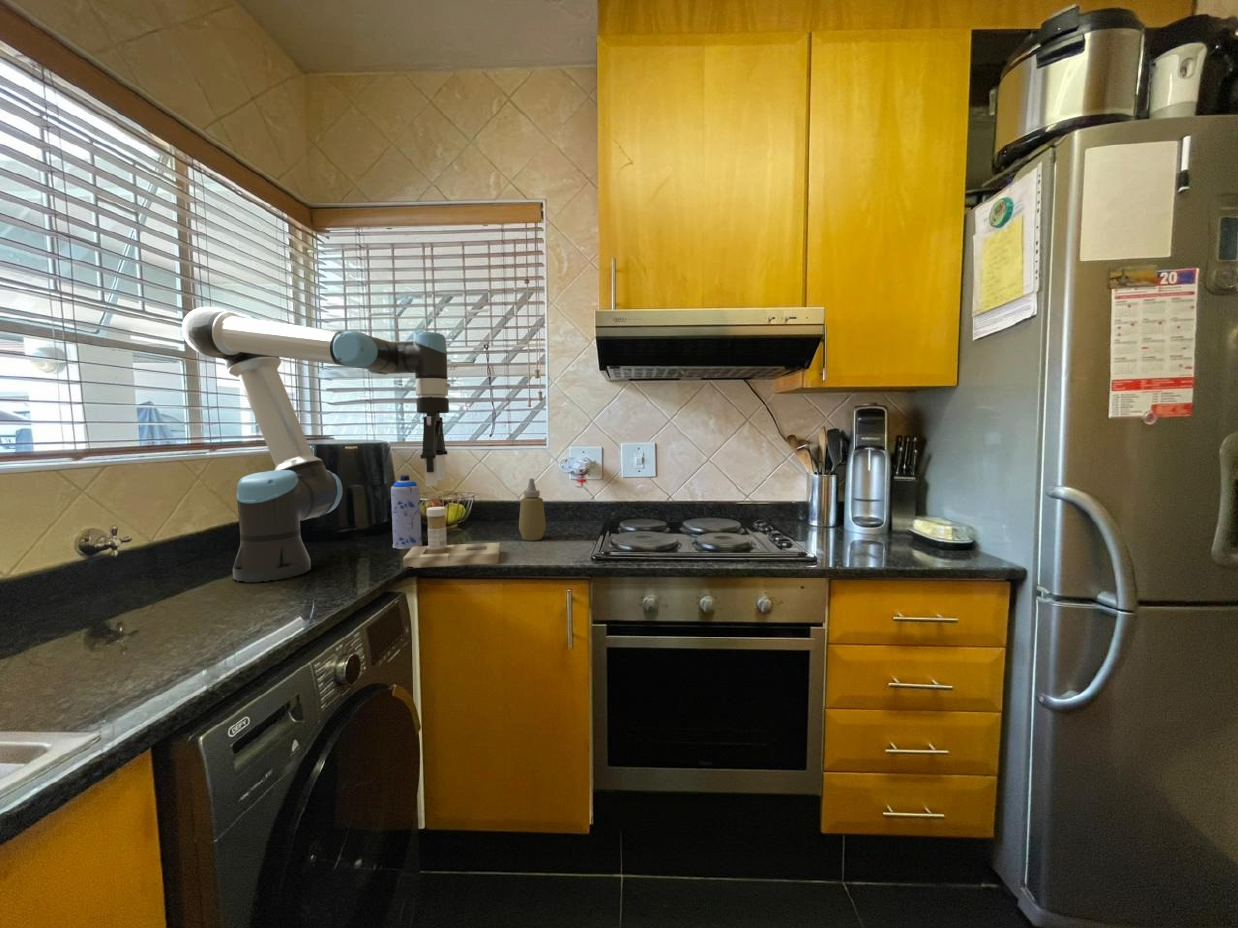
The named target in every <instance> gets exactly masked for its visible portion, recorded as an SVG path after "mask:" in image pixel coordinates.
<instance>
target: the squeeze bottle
mask: <svg viewBox="0 0 1238 928" xmlns="http://www.w3.org/2000/svg"><path fill="white" fill-rule="evenodd" d="M534 479H535V478H529V479H528V485H527V489H526V490H524V491H523V498H522V499H521V500H520V505H519V519H518V530H519V532H520V535H521V538H522V540H524V541H529V542H531V541H532V542H533V541H534V542H535V541H538V540H539V541H540V540H542V539H543V537H544V535H545V531H546V528H547V521H546V516H545V515H546V513H545V507H544V506H545V505H544V499H543V498H542V497H540V493H541V491H540V490H537V488H536V483H535V480H534Z"/></svg>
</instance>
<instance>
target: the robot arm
mask: <svg viewBox="0 0 1238 928" xmlns="http://www.w3.org/2000/svg"><path fill="white" fill-rule="evenodd" d="M181 333H182V336H183V339H184V341H185V342H186V343H187V345H188V346H189V347H191V348H192V349H193V350H194V351H196V352H197V353H199V354H201V355H204V356H207V357H211V358H216V359H222V360H223V362H224V365H225V366H226V369H227V372H228V373H229V375H232V376H234V377H236V378H238V379H239V382H240V384H241V387H242V389H243V391H244V395H245V397H246V399H247V401H248V403H249V406H250V409H251V410H252V413H253V415H254V417H255V421H256V423H257V425H258V427H259V430H260V431H261V434H262V437H263V440H264V442H265V444H266V446H267V449H268V451H269V454H270V456H271V459H272V460H273V463H274V465H275V469H274V470H267V471H259V472H255V473H251V474H248V475H245V476H243V477H241V478H240V479H239V480H238V482H237V493H236V501H237V509H238V511H237V513H238V514H237V515H238V525H239V534H240V536H239V537H240V538H239V539H240V541H239V542H240V545H239V548H238V552H237V555H236V557H235V561H234V563H233V564H234V565H233V567H232V578H234V579H235V580H237V581H236V582H239V581H244V582H243V583H261V581H264V582H271V581H270V580H273V581H278V579H279V580H284V578H285V579H290V578H292V577H296V576H299V575H302V574H305V573H307V572H308V571H310V570H312V567H311V564H312V563H311V557H310V556H309V553H308V551H307V549H306V546H305V544H304V542H303V540H302V537H301V521H305V520H306V521H307V520H309V519H312V518H320V517H321V516H325V515H326V514H329V513H331V512H332V511H333V510H335V509H336V508H337V507H338V505H339V504H340V501H341V500H342V496H343V485H342V481H341V479H340V478H339V477H338V475H336V473H333V472H331V471H330V470H327V469H326V466H325V464H324V462H323V460H322V459H321V458H319V457H317V456H316V455H315V456H314V455H313V453H312V450H311V448H310V445H309V443H308V440H307V438H306V436H305V433H304V430H303V429H302V426H301V424H300V421H299V419H298V415H297V414H296V411H295V409H294V407H293V405H292V401H291V400H290V396H289V394H288V391H287V389H286V387H285V385H284V383H283V380H282V378H281V375H280V372H279V371H278V369H279V367H280V366H281V363H282V361H281V358H284V359H290V360H291V359H292V360H299V361H306V362H307V361H308V362H313V363H322V364H328V365H329V364H330V365H336V366H337V365H338V366H341V367H350V368H356V369H363V370H368V372H369V373H372V374H378V375H388V374H391V375H392V374H414V375H415V396H418V397H417V398H416V401H415V402H416V412H417V414H426V416H423V418H422V421H423V432H422V449H421V450H422V453H421V454H420V459H422V460H423V462H424V463H423V465H424V466H423V467H424V486H425V487H438V481H446V458H445V456H446V455H448V450H446V444H445V435H444V421H443V420H444V419H443V417H442V416H440V414H447V413H450V412H449V411H450V406H449V405H450V404H449V403H450V402H449V401H450V399H448V398H447V397H448V395H449V389H448V388H450V387H451V383H449V382H448V379H449V378H448V350H447V341H446V339H447V338H446V336H445V335H444V334H442V333H439V332H434V331H420V332H418V331H417V332H415V333H414V334H413V339H412V341H407V342H406V341H404V342H402V341H401V342H399V341H396V342H395V341H394V342H393V341H389V340H386V339H381V338H378V337H374V336H371V335H369V334H366V333H364V332H360V331H352V330H347V331H341V330H334V329H328V328H320V327H312V326H305V325H297V324H290V323H289V324H288V323H281V322H274V321H267V320H263V319H261V318H259V317H257V316H254V315H249V314H242V313H238V312H236V311H235V312H234V311H231V310H227V309H223V308H219V307H215V306H202V307H197V308H195V309H193V310H191V311H189V312H188V313H187V314H186V316H184V319H183V320H182V324H181ZM234 579H233V580H234ZM235 580H234V581H235Z"/></svg>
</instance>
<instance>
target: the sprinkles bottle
mask: <svg viewBox="0 0 1238 928" xmlns="http://www.w3.org/2000/svg"><path fill="white" fill-rule="evenodd" d="M446 515H447V509H446V507H444V506H431V507H427V508H426V517H427V541H428V542H427V544H428V545H427V546H428V548H429V554H442V553H447V549H446V547H447V545H448V543H447V542H448V541H447V526H446Z"/></svg>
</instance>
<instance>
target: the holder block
mask: <svg viewBox="0 0 1238 928" xmlns="http://www.w3.org/2000/svg"><path fill="white" fill-rule="evenodd" d="M500 545H501V542H482V543H463V544H460V543H459V544H447V547H446V549H447V553H442V554H429V548H428V545H421V546H417V547H412V548H410V549H409V551H407V553H406V554H405V555H404V556H403V559H402V561H403V562H402V563H403V566H410V567H413V568H412V569H416V568H421V569H422V568H436V567H437V568H439V567H453V566H456V567H457V566H473V565H474V566H475V565H490V564H491V565H494V564H498V563H499V559H500V553H501V552H500V551H501V547H500Z"/></svg>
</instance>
